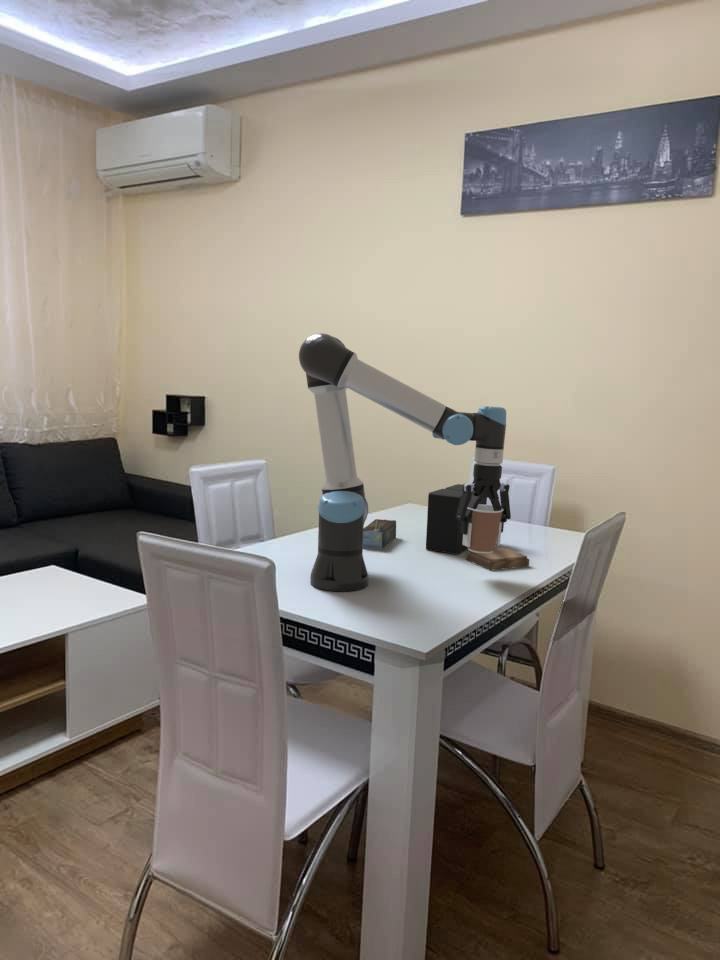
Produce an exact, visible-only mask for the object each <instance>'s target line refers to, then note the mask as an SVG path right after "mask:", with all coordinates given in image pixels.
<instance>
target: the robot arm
mask: <svg viewBox="0 0 720 960" xmlns="http://www.w3.org/2000/svg"><path fill="white" fill-rule="evenodd" d="M298 352H299V353H298V361H299V364H300V367H301V369H302V370H303V371H304V372H305V376H306V377H305V379H306V385H307V390H309V391H310V392H312V393H313V396H314V400H315V401H314V402H315V410H316V414H317V415H316V416H317V422H318V430H319V440H320V445H321V452H322V458H323V468H324V474H325V475H324V476H325V481H324V484H322V486H321V492H322V494H321V497H319V504H318V509H317V510H318V536H317V537H318V539H317V540H318V541H317V555H316V557H315V561H314V564H313V566H312V569H311V572H310V577H309V578H310V579H309V580H310V584H311V586H313V587H315V588H317V589H320V590H325V591H331V592H352V591H353V592H354V591H359V590H362V589H364V588H366V587H368V585H369V573H368V569H367V566H366V563H365V559H364V555H363V553H364V551H363V549H364V548H363V529H364V528H365V526H364V525H365V522H366V520H367V518H368V514H369V504H368V501H367V498H366V494H365V485H364V482H363V480H362V479H360V478H359V476H358V475H357V467H356V459H355V451H354V444H353V436H352V430H351V429H352V428H351V422H350V414H349V405H348V398H347V392H346V391H347V389H349V390H351V391H352V392H355V393H357V394H358V395H361V396H362V397H364V398H365V399H368V400H370V401H372V402H374V403H375V404H378V405H379V406H382V407H383V408H385V409H387V410H389V411H391V412H393V413H394V414H396V415H398V416H400V417H402V418H404V419H406V420H408V421H410V422H412V423H414V424H415V425H417V426H419V427H421V428H423V429H425V430H427V431H429V432H431V433H432V434H431V435H432V437H433V438H434V439H439V440H440V439H441V440H445V441H446V442H447V443H449V444H451V445H453V446H460V445H464V444H466V443H469V441H470V442H473V441H474V442H475V451H474V459H473V460H474V462H476V463H474V464H473V473H472V474H473V481H472V482H471V483H463V484H462V485H463V493H462V496H461V500H460V503H459V507H458V510H457V514H456V519H458V520H461V521H462V527H461V533H462V534H463V542H462V545H464V546H467V547H470V541H471V529H472V523H470V520H471V518H472V512H473V510H469V509H467V507H468V508H471V509H475V510H476V508H477V506H478V504H479V502H480V501H482V499H483V498H487V499H489V500H490V503H491V504H490V505H492V507H493V509H494V511H501V508H502V509H503V511H502V516H501V520H500V525H499V530H498V535H497V539H496V544H495V546H500V545H501V538H502V533H504V526H505V523H507V522H508V520H510V519H511V517H512V516H511V506H510V505H511V504H510V497H509V496H510V495H509V491H510V484H507V483H503V482H501V479H502V474H503V472H502V471H503V466H502V465H501V464H503V462H504V461H503V458H504V449H505V448H504V447H505V438H506V431H507V430H506V429H507V410H506V408H504V407H502V406H490V405H489V406H488V405H487V406H485V405H480V406H479V407H478V410H477V412H462V411H456V410H455V409H453V408H451V407H449V406H447V405H445V404H444V403H442V402H440V401H438V400H436V399H434V398H432V397H430V396H428V395H426V394H424V393H422V392H421V391H419V390H417V389H415V388H413V387H411V386H410V385H407V384H405V383H404V382H403V381H400V380H398V379H397V378H394V377H392V376H391V375H388V374H387V373H385V372H383V371H381V370H379V369H378V368H375V367H374V366H372V365H370V364H368V363H366V362H364V361H362V360H360V359H359V358H358V355H357V353H356V352H354V351H352V350H351V349H349V348H347V347H346V345H345V344H344V342H342V340H340V339H339V338H337V337H334V336H333V335H330V334H328V333H323V332H322V333H314V334H313V335H310V336H309V337H307V338H306V339H305V340H304V341H303V342H302V344H301V346H300V347H299V351H298ZM472 489H474V492H473V494H472V496H471V492H472V491H473V490H472ZM498 492H499V493H498ZM477 496H478V497H477ZM470 497H472V499H471V501H470V502H469V500H470Z"/></svg>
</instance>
